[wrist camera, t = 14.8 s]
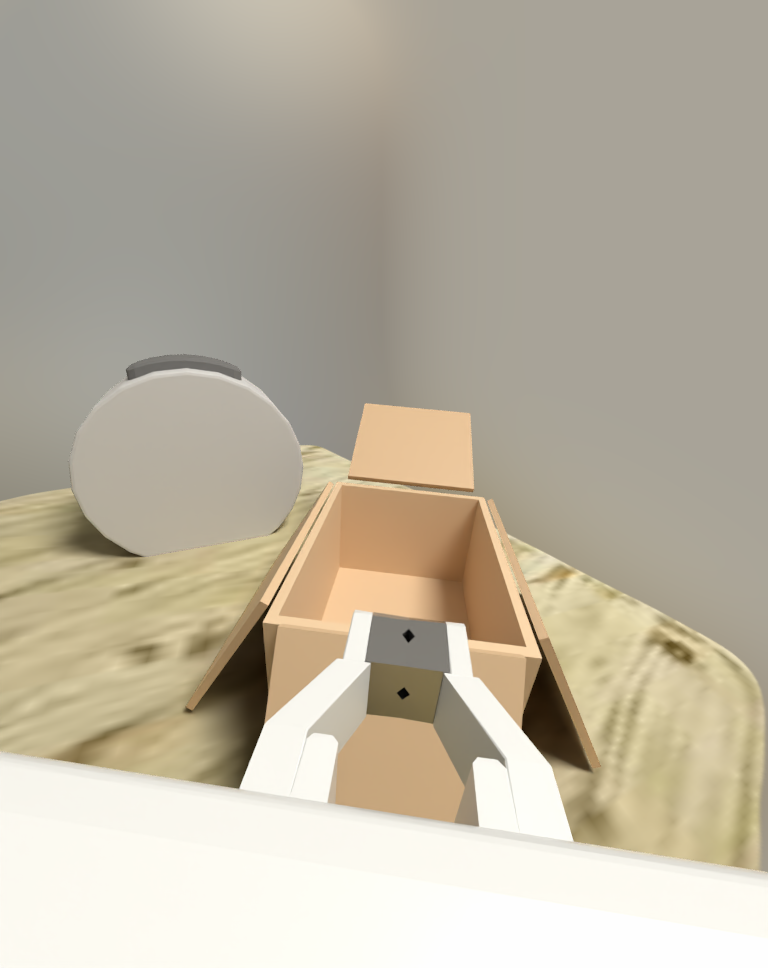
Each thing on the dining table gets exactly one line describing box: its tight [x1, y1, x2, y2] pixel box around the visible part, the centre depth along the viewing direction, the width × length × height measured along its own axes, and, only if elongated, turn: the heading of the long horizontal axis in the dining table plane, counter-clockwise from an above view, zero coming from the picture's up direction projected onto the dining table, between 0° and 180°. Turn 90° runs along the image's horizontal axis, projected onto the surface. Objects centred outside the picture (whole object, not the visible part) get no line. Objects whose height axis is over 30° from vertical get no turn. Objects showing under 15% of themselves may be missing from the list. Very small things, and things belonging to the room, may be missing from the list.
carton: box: [186, 482, 601, 823], centre depth 26 cm, size 24×26×10 cm
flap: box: [348, 404, 474, 492], centre depth 38 cm, size 1×12×11 cm
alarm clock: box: [68, 354, 303, 557], centre depth 40 cm, size 21×8×20 cm, turn 116°
